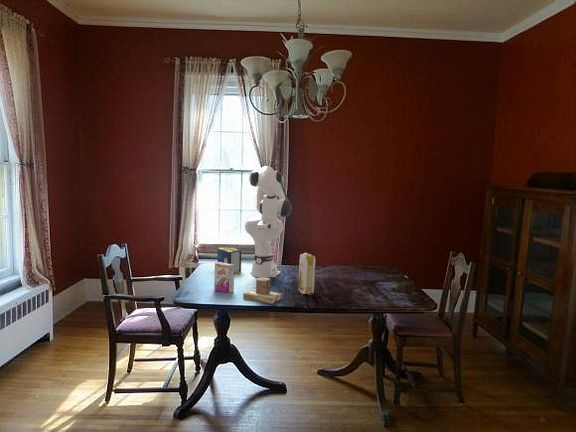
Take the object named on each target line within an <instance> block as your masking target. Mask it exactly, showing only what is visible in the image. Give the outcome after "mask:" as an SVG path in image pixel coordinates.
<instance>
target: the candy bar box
mask: <svg viewBox="0 0 576 432" xmlns="http://www.w3.org/2000/svg"><path fill="white" fill-rule="evenodd" d="M213 286H214V289H213V290H214V291H216V292H221V293H225V294H231V293H234V289H235V273H234V265H232V264H227V263H222V262H218V261H217V262H215V263H214V285H213Z"/></svg>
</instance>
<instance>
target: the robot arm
mask: <svg viewBox="0 0 576 432" xmlns="http://www.w3.org/2000/svg"><path fill="white" fill-rule="evenodd" d="M248 181H249V184H250V185H251V187H257V192H256V210H257V211H258V213H260V215H261V218H258V217H257V218H256V217H255V218H248V219H247V220H246V222H245V224H244V229H245V231H246V233H247V235H249V236H250V237H251V238H252V240H253V242H254V252H255V253H254V256H253V259H254V261H253V262H252V267H251V271H250V272H249V273H250V275H251V276H253V277H255V278H260V277H263V278H276V277H277V276H278V275H280V274H281V271H280V270H278V265H277V263H276V262H274V259H273V258H274V257H275V255H274V254H272V248H274V247H275V245H276V241H277V240H278V239H279V238H280V237H281V236H280V235H281V233H282V232H283V230H284V223H283V222H282V220H281V219H279V218H278V217H283V218H286V217H288V216H289V215H290V214H291V213H292V204H291V201H290V200H289V198H288V196H287V193H286V190H285V187H284V186H283V182H284V177H283V173H282V172H281V171H280V170H279V171H278V170H274V169H273V167H271V166H268V165H265V166H263V167H261V168H260V170H252V171H251V172H250V174H249V178H248ZM278 198H279V199H278ZM270 241H271V242H270Z"/></svg>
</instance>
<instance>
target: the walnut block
mask: <svg viewBox="0 0 576 432" xmlns="http://www.w3.org/2000/svg"><path fill="white" fill-rule="evenodd" d="M255 280H256V281H255V289H256V293H257V294H263V295H266V294H268V293H270V289H271V288H270V287H271V278H270V277H267V278H263V277H256V278H255Z"/></svg>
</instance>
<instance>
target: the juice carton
mask: <svg viewBox="0 0 576 432" xmlns="http://www.w3.org/2000/svg"><path fill="white" fill-rule="evenodd" d="M298 264H299V265H298V281H297V282H298V283H297V284H298V285H297V286H298V292H299V291H300V292H299V293H301V294H302V295H303V294H308V295H311V294H310V293H313V294H314V291H315V279H316V276H315V275H316V256H314V255H312V254H311V253H308V252H304V253H301V254H300V255H299V263H298Z"/></svg>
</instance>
